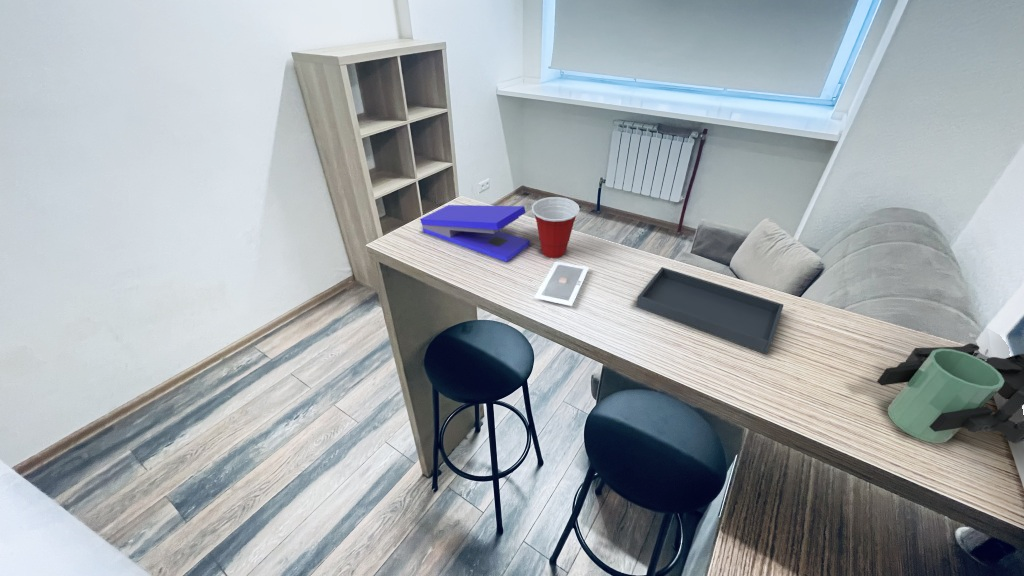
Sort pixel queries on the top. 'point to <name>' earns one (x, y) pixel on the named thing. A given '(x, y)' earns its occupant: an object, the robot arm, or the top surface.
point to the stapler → (477, 228)
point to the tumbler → (943, 392)
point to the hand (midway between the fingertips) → (909, 398)
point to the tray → (712, 308)
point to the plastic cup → (555, 224)
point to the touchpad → (562, 283)
